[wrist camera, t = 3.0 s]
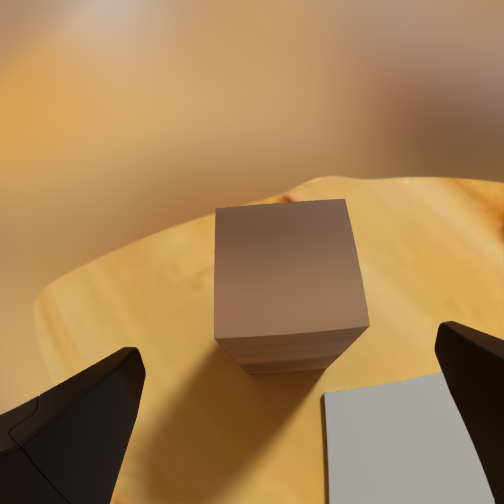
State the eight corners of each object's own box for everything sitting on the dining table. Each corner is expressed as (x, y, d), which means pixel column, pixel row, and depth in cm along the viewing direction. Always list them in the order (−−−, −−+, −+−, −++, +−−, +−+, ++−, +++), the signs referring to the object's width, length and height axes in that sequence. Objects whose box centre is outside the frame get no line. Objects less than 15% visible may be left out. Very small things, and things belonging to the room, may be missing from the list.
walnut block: (326, 368, 18) (369, 325, 9) (249, 374, 18) (214, 338, 9) (318, 297, 20) (344, 198, 11) (246, 302, 20) (215, 208, 11)
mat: (488, 553, 9) (490, 554, 8) (326, 605, 9) (327, 607, 9) (491, 358, 16) (493, 357, 16) (323, 393, 17) (324, 392, 17)
